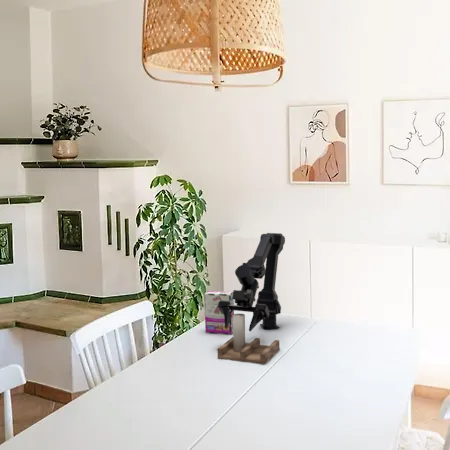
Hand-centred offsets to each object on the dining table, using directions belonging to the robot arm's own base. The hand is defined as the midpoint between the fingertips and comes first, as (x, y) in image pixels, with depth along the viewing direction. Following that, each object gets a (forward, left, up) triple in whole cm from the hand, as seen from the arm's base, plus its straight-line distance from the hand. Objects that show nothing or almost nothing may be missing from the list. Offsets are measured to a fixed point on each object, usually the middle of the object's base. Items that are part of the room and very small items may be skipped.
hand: (237, 329), depth 219 cm
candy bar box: (-27, -1, -9) cm, 29 cm away
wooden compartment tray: (+1, +4, -9) cm, 10 cm away
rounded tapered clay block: (-1, +1, -8) cm, 8 cm away
